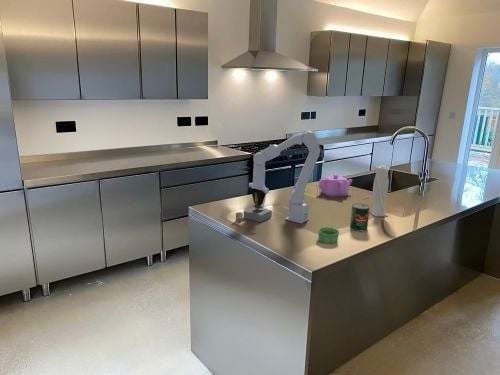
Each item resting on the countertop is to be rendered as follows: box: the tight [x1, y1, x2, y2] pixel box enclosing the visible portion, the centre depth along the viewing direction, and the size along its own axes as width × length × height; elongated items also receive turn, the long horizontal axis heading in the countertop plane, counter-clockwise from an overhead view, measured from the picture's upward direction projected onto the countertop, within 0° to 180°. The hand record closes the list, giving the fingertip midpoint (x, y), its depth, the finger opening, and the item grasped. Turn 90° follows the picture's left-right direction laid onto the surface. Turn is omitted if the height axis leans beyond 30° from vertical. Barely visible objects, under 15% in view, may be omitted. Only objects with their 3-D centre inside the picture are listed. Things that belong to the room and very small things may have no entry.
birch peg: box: [235, 211, 244, 223], centre depth 180 cm, size 3×3×4 cm
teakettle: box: [318, 174, 353, 198], centre depth 231 cm, size 17×17×12 cm
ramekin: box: [317, 226, 340, 245], centre depth 160 cm, size 9×9×4 cm
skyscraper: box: [369, 163, 391, 218], centre depth 191 cm, size 8×8×28 cm
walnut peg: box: [254, 192, 261, 209], centre depth 184 cm, size 3×3×8 cm
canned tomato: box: [349, 202, 371, 232], centre depth 174 cm, size 8×8×11 cm
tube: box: [252, 195, 267, 208], centre depth 204 cm, size 5×5×25 cm
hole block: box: [243, 206, 273, 223], centre depth 186 cm, size 10×10×4 cm
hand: (258, 203), depth 184 cm, fingers closed on walnut peg, 3 cm apart
